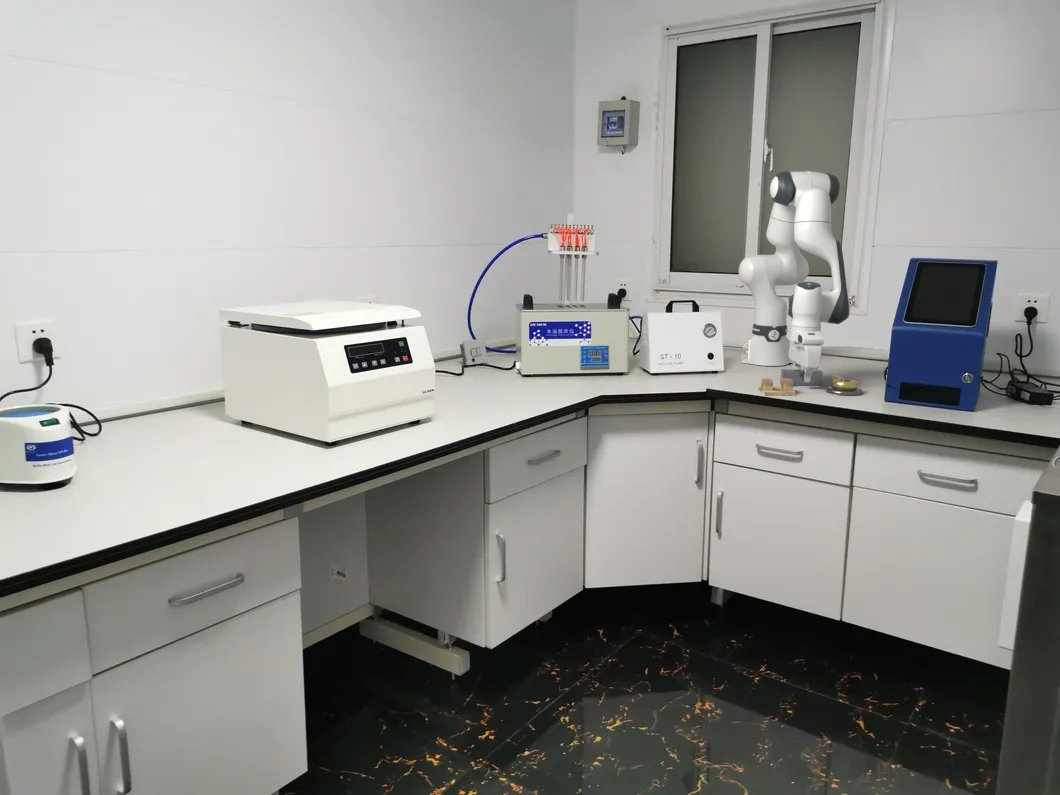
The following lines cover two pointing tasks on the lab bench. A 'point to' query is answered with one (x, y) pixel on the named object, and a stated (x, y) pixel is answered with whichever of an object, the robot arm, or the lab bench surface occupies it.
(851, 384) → the gold curved piece
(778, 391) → the rack
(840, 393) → the nut base
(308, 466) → the lab bench surface
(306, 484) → the lab bench surface
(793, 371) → the bar
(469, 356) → the electrical switch
